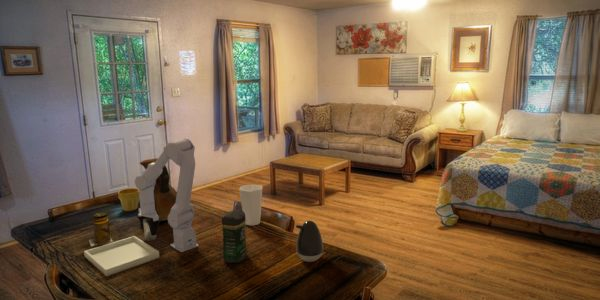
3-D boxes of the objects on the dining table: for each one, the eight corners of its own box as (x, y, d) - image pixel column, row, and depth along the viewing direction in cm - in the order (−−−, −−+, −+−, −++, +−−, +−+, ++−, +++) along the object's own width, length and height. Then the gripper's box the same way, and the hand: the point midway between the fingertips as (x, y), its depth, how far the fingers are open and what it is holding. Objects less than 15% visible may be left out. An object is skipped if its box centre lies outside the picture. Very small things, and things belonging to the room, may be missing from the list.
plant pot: (144, 208, 217) (142, 190, 215) (125, 213, 209) (123, 195, 207) (135, 204, 224) (133, 186, 222) (116, 209, 216) (114, 191, 214)
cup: (268, 221, 196) (267, 186, 193) (255, 228, 188) (253, 192, 184) (250, 217, 202) (248, 183, 199) (236, 223, 194) (234, 188, 190)
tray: (159, 257, 161) (158, 251, 161) (106, 276, 147) (105, 269, 147) (135, 241, 176) (134, 235, 176) (84, 257, 163) (84, 251, 162)
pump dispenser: (291, 255, 161) (291, 218, 158) (316, 251, 165) (316, 214, 161) (301, 267, 152) (301, 228, 148) (327, 262, 155) (327, 223, 152)
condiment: (113, 241, 176) (110, 215, 174) (91, 246, 172) (87, 219, 169) (110, 236, 182) (107, 210, 180) (88, 240, 178) (85, 214, 175)
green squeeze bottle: (239, 265, 154) (237, 217, 150) (220, 262, 156) (217, 215, 152) (250, 254, 163) (248, 208, 159) (232, 251, 165) (229, 207, 161)
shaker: (158, 238, 179) (156, 218, 177) (147, 241, 176) (145, 221, 174) (153, 235, 182) (151, 215, 181) (142, 238, 179) (140, 218, 177)
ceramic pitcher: (165, 209, 215) (160, 152, 209) (191, 217, 203) (186, 157, 197) (131, 221, 199) (124, 160, 193) (156, 230, 188) (150, 165, 182)
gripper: (130, 200, 178) (133, 230, 181) (145, 208, 168) (148, 240, 171) (146, 196, 183) (149, 225, 186) (162, 204, 173) (164, 234, 176)
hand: (150, 232), depth 179 cm, fingers open, 7 cm apart
